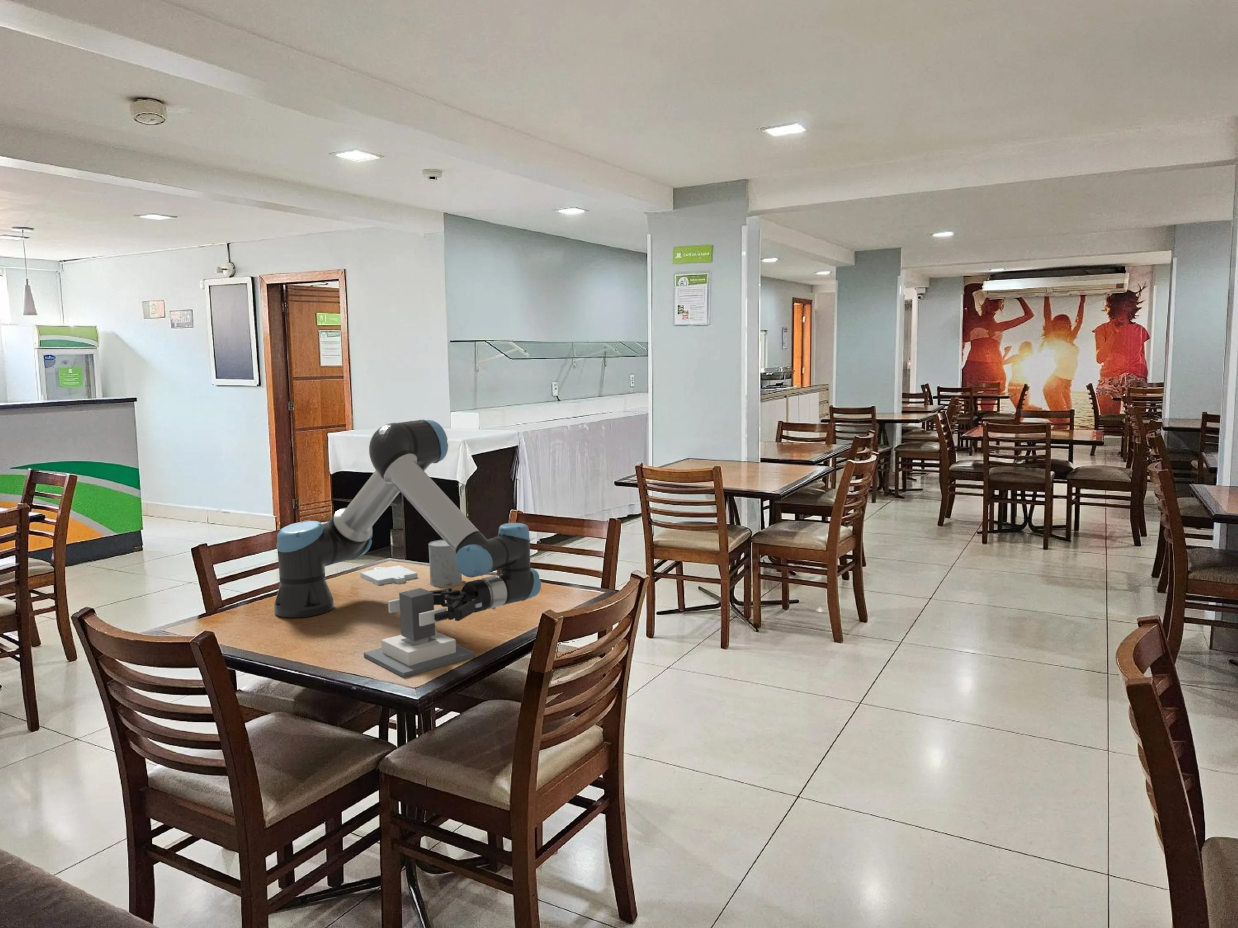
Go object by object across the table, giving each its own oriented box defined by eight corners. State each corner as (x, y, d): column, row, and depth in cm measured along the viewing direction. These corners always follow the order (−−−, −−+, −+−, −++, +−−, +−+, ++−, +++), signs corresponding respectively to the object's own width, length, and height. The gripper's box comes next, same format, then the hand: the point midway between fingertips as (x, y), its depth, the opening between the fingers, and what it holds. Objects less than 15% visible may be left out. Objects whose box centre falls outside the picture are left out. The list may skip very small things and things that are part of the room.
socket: (363, 656, 195) (362, 639, 195) (432, 638, 208) (432, 622, 207) (403, 677, 182) (402, 659, 182) (474, 656, 195) (474, 639, 194)
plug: (402, 652, 195) (399, 592, 193) (423, 646, 199) (420, 587, 197) (414, 658, 191) (411, 597, 189) (436, 652, 195) (433, 592, 193)
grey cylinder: (455, 587, 253) (453, 546, 252) (424, 586, 255) (423, 545, 253) (467, 579, 262) (465, 539, 261) (437, 577, 264) (436, 538, 263)
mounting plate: (357, 576, 269) (356, 570, 269) (395, 569, 277) (395, 563, 277) (381, 588, 255) (381, 582, 255) (421, 580, 263) (421, 574, 263)
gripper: (514, 620, 197) (434, 642, 183) (455, 599, 215) (378, 617, 201) (513, 588, 196) (433, 608, 182) (454, 570, 214) (376, 586, 200)
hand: (403, 613), depth 191 cm, fingers open, 13 cm apart
